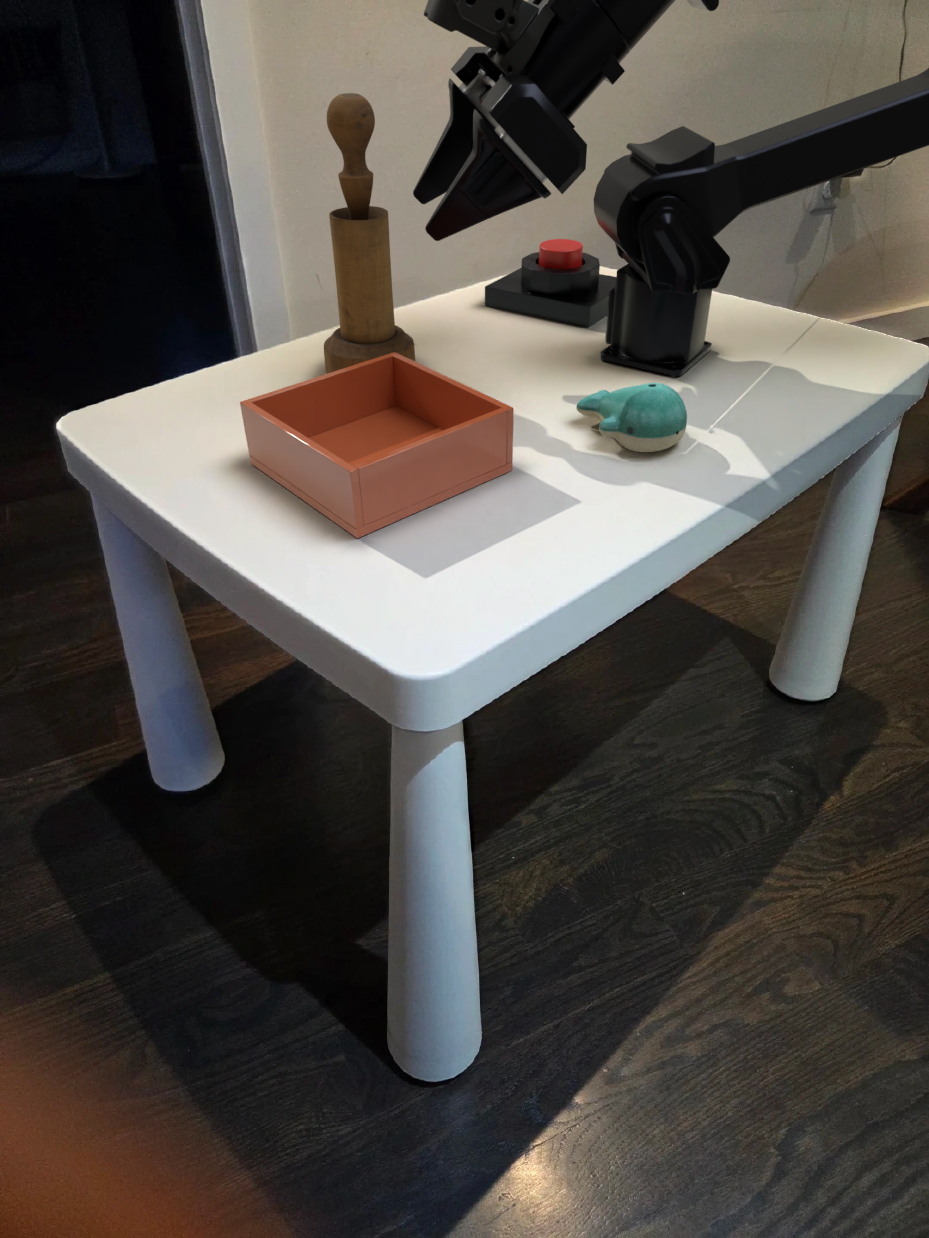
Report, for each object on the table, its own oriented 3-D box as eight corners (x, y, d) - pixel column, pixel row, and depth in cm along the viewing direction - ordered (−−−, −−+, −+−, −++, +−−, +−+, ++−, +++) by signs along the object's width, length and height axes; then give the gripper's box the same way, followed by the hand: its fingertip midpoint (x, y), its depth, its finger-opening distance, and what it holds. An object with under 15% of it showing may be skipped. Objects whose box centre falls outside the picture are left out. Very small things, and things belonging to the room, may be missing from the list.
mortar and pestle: (421, 356, 70) (409, 86, 59) (409, 392, 65) (393, 103, 54) (336, 354, 70) (308, 86, 59) (317, 389, 65) (283, 103, 54)
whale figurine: (643, 469, 55) (650, 411, 53) (556, 429, 60) (559, 374, 57) (703, 439, 58) (712, 383, 56) (616, 403, 63) (621, 350, 60)
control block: (631, 299, 79) (635, 258, 77) (588, 328, 74) (591, 284, 72) (531, 280, 84) (532, 241, 81) (484, 306, 78) (484, 264, 76)
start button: (589, 264, 77) (590, 242, 76) (568, 275, 75) (570, 253, 74) (551, 257, 79) (552, 236, 78) (530, 268, 76) (531, 247, 75)
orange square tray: (398, 409, 62) (394, 351, 60) (512, 470, 55) (514, 407, 53) (250, 463, 57) (239, 401, 54) (357, 538, 50) (350, 471, 47)
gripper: (482, -103, 58) (327, 100, 64) (537, -108, 44) (330, 155, 50) (593, 39, 64) (441, 213, 70) (675, 76, 49) (475, 293, 55)
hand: (423, 216), depth 61 cm, fingers open, 9 cm apart
